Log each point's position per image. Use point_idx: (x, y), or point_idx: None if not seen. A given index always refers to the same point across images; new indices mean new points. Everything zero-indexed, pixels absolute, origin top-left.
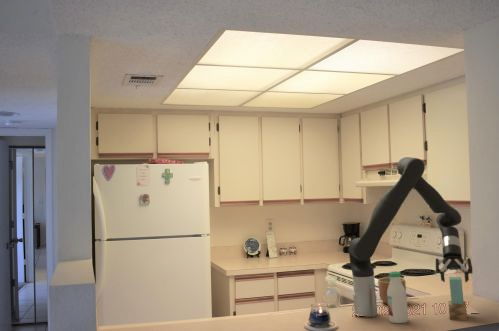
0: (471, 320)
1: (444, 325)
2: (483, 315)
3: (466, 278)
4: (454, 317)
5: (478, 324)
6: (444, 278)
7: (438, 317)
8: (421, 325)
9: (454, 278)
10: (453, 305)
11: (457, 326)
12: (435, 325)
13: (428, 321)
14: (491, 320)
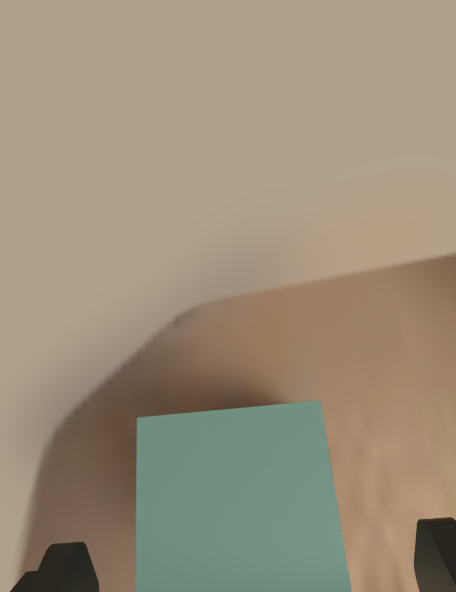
0: None
1: (320, 296)
2: None
3: (51, 553)
4: None
5: (141, 349)
6: (429, 531)
7: (386, 461)
8: (444, 273)
9: (249, 502)
10: None
11: (251, 293)
12: (368, 287)
13: (427, 356)
14: (58, 445)
